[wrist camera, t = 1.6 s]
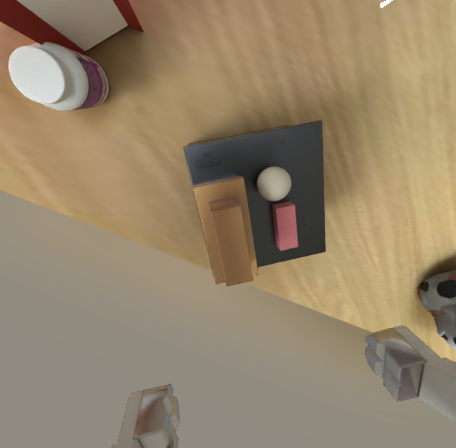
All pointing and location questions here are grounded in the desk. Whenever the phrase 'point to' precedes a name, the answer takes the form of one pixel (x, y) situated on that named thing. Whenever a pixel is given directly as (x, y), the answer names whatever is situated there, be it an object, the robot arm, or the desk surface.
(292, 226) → the eraser
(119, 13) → the book
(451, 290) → the lucky cat figurine
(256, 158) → the cabinet
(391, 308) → the desk surface
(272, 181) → the egg
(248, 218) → the brush
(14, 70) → the pill bottle
